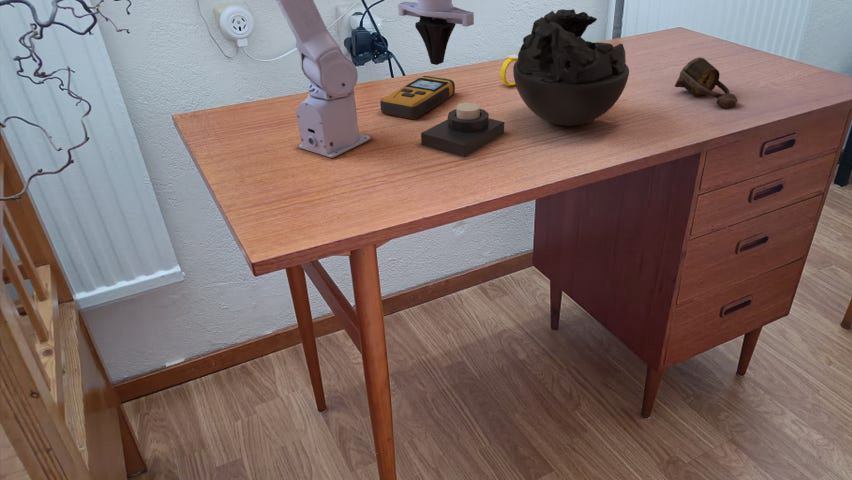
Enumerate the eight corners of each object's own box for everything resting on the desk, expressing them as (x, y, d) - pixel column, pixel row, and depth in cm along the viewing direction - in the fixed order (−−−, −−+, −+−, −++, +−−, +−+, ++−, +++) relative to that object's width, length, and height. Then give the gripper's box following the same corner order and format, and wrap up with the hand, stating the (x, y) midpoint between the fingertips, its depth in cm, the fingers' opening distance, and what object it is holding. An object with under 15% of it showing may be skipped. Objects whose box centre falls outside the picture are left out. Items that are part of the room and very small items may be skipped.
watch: (506, 89, 134) (506, 60, 131) (497, 86, 136) (498, 57, 133) (528, 83, 137) (529, 55, 134) (519, 80, 139) (520, 52, 136)
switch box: (464, 157, 107) (464, 134, 105) (421, 145, 111) (420, 122, 109) (504, 133, 115) (504, 111, 113) (462, 123, 119) (462, 101, 117)
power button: (471, 122, 110) (471, 112, 109) (451, 117, 112) (451, 108, 111) (484, 115, 113) (484, 105, 112) (465, 110, 115) (465, 101, 114)
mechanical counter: (722, 60, 133) (678, 51, 131) (754, 73, 122) (705, 64, 120) (710, 95, 136) (666, 87, 134) (739, 112, 125) (692, 103, 123)
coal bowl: (578, 96, 131) (586, -4, 120) (646, 129, 116) (661, 18, 106) (491, 114, 123) (492, 9, 112) (552, 152, 108) (559, 35, 98)
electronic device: (378, 115, 123) (376, 98, 121) (420, 89, 135) (419, 73, 133) (416, 122, 120) (415, 104, 118) (457, 95, 132) (456, 78, 130)
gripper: (484, -20, 107) (484, 64, 114) (414, -29, 114) (419, 51, 121) (458, -13, 102) (460, 74, 110) (387, -23, 109) (394, 60, 116)
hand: (437, 63), depth 115 cm, fingers closed
